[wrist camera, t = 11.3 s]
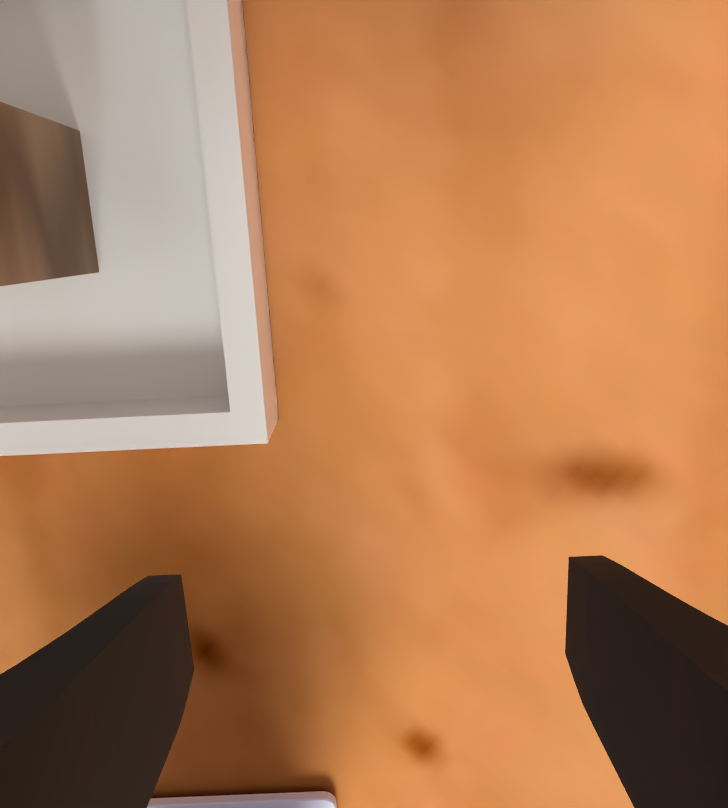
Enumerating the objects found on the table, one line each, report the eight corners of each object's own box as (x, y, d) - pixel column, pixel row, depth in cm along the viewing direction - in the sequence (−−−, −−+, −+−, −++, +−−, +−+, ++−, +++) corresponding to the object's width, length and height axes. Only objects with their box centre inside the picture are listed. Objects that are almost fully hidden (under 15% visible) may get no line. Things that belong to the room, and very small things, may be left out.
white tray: (278, 419, 21) (267, 443, 19) (-141, 439, 21) (-205, 465, 19) (236, -69, 17) (215, -118, 15) (-268, -42, 18) (-367, -85, 15)
